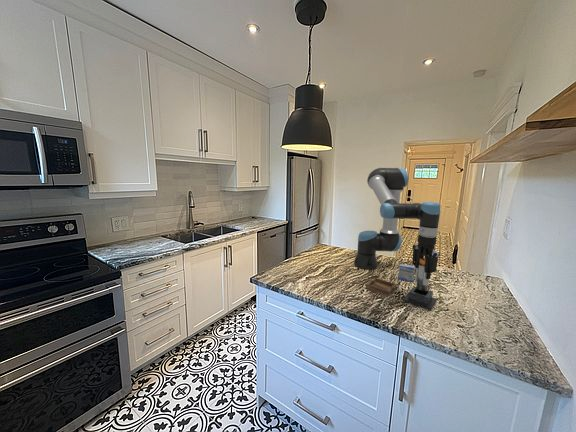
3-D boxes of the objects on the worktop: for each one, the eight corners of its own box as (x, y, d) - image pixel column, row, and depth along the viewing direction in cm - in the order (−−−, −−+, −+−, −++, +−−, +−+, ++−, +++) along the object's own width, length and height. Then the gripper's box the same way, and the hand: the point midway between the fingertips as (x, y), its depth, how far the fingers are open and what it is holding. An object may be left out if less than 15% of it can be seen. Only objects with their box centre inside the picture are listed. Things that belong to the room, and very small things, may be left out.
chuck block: (410, 292, 127) (411, 283, 126) (436, 301, 119) (437, 291, 118) (402, 301, 118) (403, 291, 117) (430, 310, 110) (432, 300, 110)
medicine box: (398, 279, 143) (399, 265, 142) (398, 276, 147) (399, 263, 146) (413, 282, 140) (414, 268, 138) (413, 279, 144) (414, 265, 142)
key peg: (414, 287, 119) (417, 258, 117) (420, 286, 121) (424, 257, 118) (420, 291, 116) (424, 261, 113) (427, 289, 117) (431, 260, 114)
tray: (374, 281, 140) (374, 277, 139) (396, 288, 132) (396, 284, 131) (365, 289, 131) (365, 284, 130) (388, 296, 123) (388, 291, 122)
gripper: (406, 231, 120) (402, 276, 124) (437, 241, 104) (430, 292, 108) (418, 230, 122) (413, 274, 127) (450, 239, 106) (443, 289, 111)
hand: (421, 282), depth 118 cm, fingers closed on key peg, 4 cm apart
